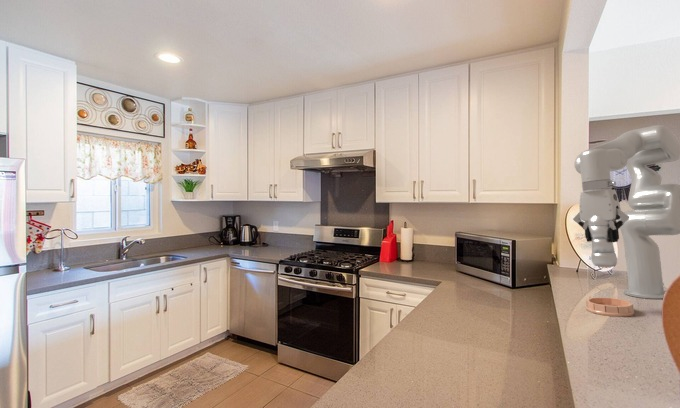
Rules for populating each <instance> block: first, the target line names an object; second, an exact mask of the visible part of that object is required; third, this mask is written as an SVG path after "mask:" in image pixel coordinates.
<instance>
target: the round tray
mask: <svg viewBox="0 0 680 408" xmlns="http://www.w3.org/2000/svg"><path fill="white" fill-rule="evenodd" d="M585 303H586V304H585V305H586V307H585V308H586V309H585V310H586V311H587V312H589V313H592V314H596V315H598V316H604V317H605V316H606V317H616V318H617V317H618V318H623V317H625V318H626V317H632V316H634V315H635V310H634V309H635V308H634V304H633V302H632V301H629V300H625V299H622V298H616V297H615V298H614V297H603V296H601V297H600V296H599V297H595V296H594V297H589V298H586V299H585Z"/></svg>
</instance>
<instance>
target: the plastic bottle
mask: <svg viewBox="0 0 680 408" xmlns="http://www.w3.org/2000/svg"><path fill="white" fill-rule="evenodd" d="M588 227H589V231H590V234H591V238H592V241H591V255H590V257H591V259H590V261H591V263H592V264H593V266H595V267H600V268H603V269H604V268H606V269H608V268H613V267H616V266H617V264H618V257H617V254H616V252H615V246H614V242H611V241H610V230H611V227H610V225H609V223H608V221H606V220H604V219H603V218H601V217H599V216H593V217H591V218H590V219H589V220H588Z"/></svg>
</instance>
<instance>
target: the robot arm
mask: <svg viewBox="0 0 680 408" xmlns="http://www.w3.org/2000/svg"><path fill="white" fill-rule="evenodd" d="M678 160H680V140H679V139H678V137H677V136H676V135H675V133H674V132H673V131H671V129H670V128H668V127H666V126H665V125H662V124H657V125H655V124H654V125H650V126H647V127H646V126H645V127H641V128H635V129H632V130H629V131H626V132H624V133H621V134H620V135H619V136H618V137H616V138H614V139H612V140H609V141H607V142H604V143H602V144H599V145H596V146H594V147H591V148H589V149H588V148H587V149H586V150H584V151H582V152H581V153H579V154H578V155H577V156H576V158H575V160H574V170H576V172H577V173H578V174H580V175H581V187H582V191H581V192H580V195H579V196H580V197H579V212H578V213H577V214H575V216H574V217H573V218H572V219H573V222H575V223H577V225H579V226H580V227H581V228H582V229H583V230H584V235H585V236H584V237H585V239H586V242H588V243H589V242H592V238H591V234H590V231H589V227H588V220H589V219H590V218H591V217H593V216H599V217H601V218H603V219H604V220H606V221H608V223H609V225H610V227H611V230H610V241H611V242H613V243H617V242H618V241H619V240H620V234H619V233H620V232H621V236H622V238H623V244H624V245H623V246H624V256H625V257H624V258H625V264H626V271H627V273H626V274H627V281H628V282H627V283H628V284H627V285H628V288H624V289H623V293H624V295H627V296H631V297H633V298H634V297H635V298H641V299H655V300H660V299H661V300H663V299H664V298H663V297H664V294H665V292H667V291H666V290H665V289H664V285H665V283H664V281H663V272H662V264H661V252H660V247H659V245H658V243H657V242H655V240H654V239H652V238H651V237H650V236H677V235H680V184H679V183H665V184H664V183H663V184H662V177H661V175H660V174H659V173H658V172H657V171H655V170H654V169H652V168H650V167H648V166H650V165H658V164H663V163H664V164H665V163H666V164H667V163H672V162H677V161H678ZM624 168H626V169H627V171H628V173H629V175H630V178H631V182H630V189H629V193H628V199H627V200H628V201H627V202H628V206H629V207H630V210H626V211H622V209H621V205H620V200H619V198H618V194H617V191H616V189H613V187H615V186H617V182H616V181H612V179H611V172H617V171H620V170H622V169H624ZM619 230H620V232H619Z"/></svg>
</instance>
